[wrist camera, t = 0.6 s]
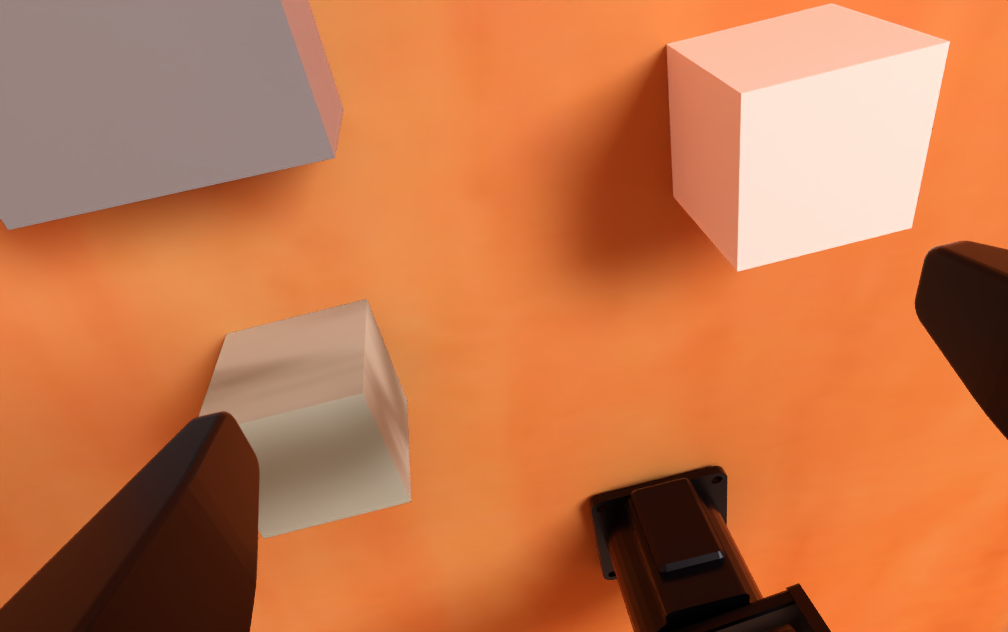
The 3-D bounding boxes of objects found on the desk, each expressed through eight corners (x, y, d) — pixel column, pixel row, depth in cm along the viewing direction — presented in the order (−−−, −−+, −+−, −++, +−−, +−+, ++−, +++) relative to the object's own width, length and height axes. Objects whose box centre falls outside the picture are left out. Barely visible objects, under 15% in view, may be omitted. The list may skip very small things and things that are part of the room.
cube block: (407, 399, 25) (411, 501, 21) (283, 430, 25) (264, 538, 21) (367, 297, 23) (362, 393, 18) (227, 332, 22) (192, 435, 18)
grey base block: (343, 106, 19) (334, 157, 16) (73, 165, 19) (8, 230, 16) (229, -252, 14) (182, -283, 11) (-134, -176, 14) (-289, -186, 11)
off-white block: (815, 159, 22) (911, 228, 18) (672, 195, 22) (737, 271, 18) (830, 2, 19) (949, 41, 15) (665, 43, 19) (741, 93, 15)
